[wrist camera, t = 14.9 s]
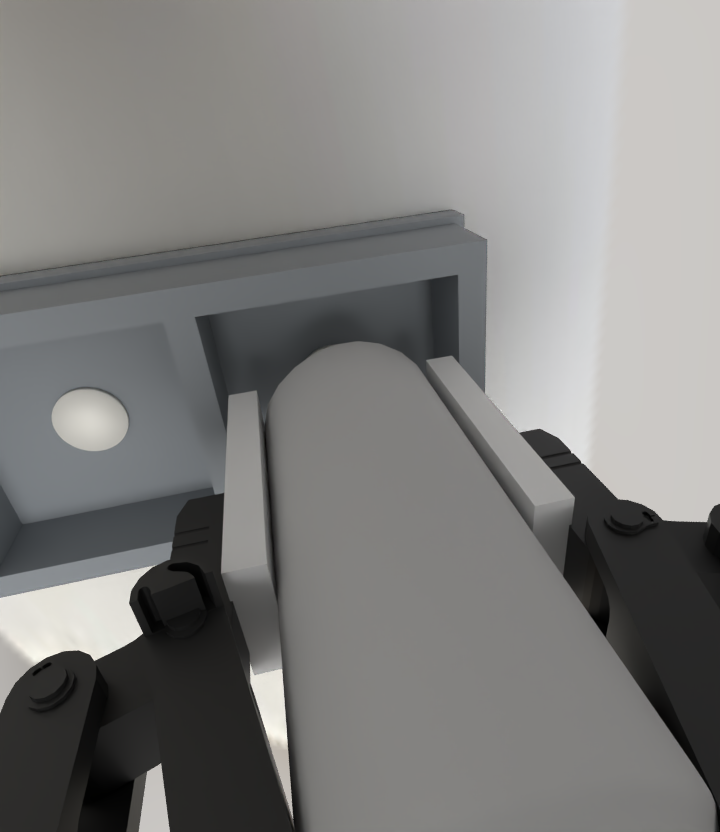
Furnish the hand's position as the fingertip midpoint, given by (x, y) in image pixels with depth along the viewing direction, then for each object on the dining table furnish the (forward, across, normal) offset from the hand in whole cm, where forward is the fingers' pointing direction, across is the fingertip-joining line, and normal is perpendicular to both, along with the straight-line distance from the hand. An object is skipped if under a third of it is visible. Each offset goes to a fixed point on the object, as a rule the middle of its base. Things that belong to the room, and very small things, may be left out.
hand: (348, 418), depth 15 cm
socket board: (+4, -4, 0) cm, 6 cm away
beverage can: (+1, 0, 0) cm, 1 cm away
